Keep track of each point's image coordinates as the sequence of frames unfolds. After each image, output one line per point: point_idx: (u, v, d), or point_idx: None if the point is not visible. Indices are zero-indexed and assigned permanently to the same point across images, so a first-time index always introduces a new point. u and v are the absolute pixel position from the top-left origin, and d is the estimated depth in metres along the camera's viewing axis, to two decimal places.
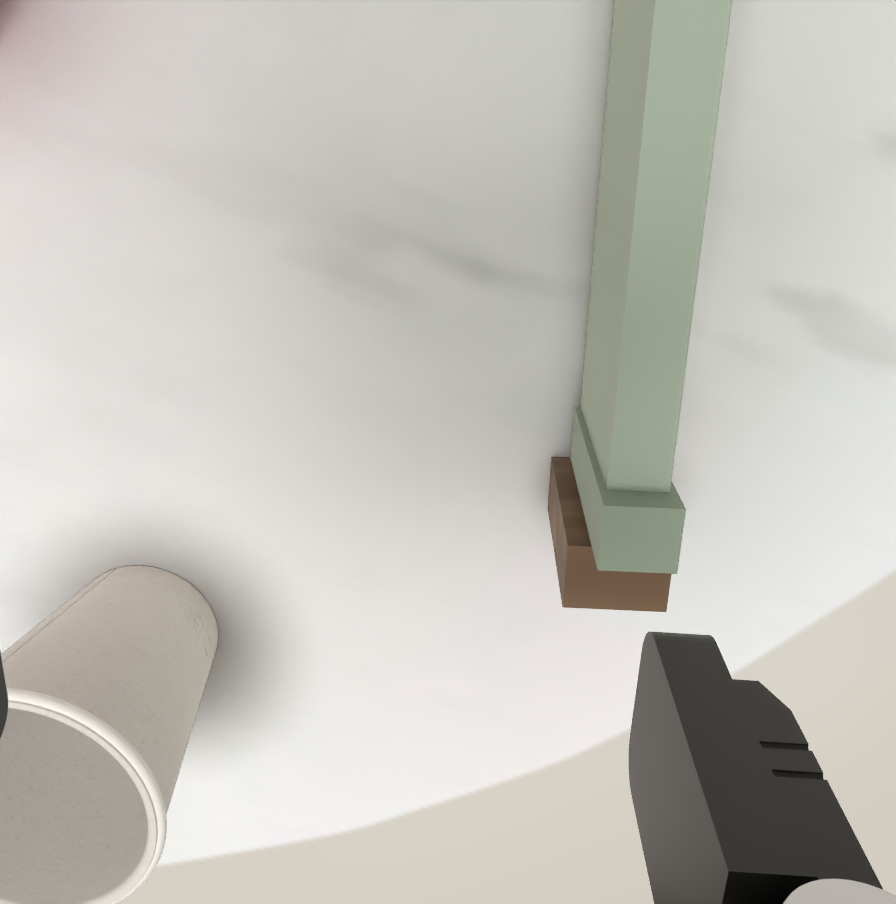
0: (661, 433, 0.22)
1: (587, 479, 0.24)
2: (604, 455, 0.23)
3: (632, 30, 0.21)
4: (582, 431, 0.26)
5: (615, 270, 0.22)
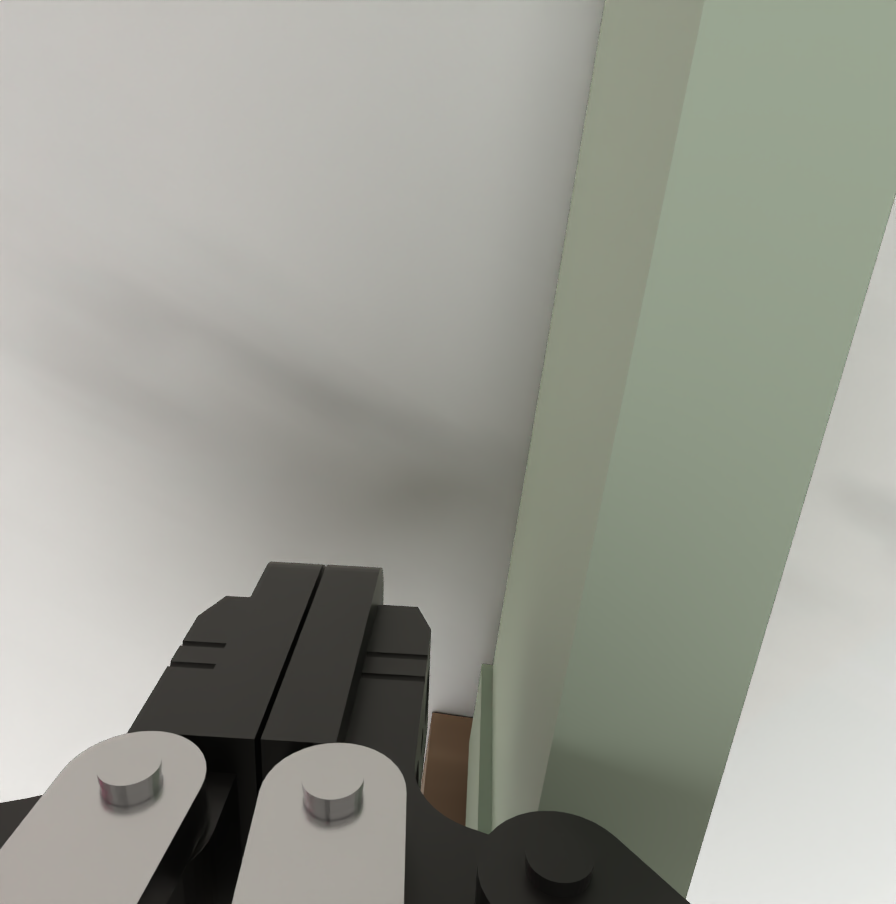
0: None
1: None
2: None
3: None
4: (480, 754, 0.14)
5: (559, 523, 0.09)
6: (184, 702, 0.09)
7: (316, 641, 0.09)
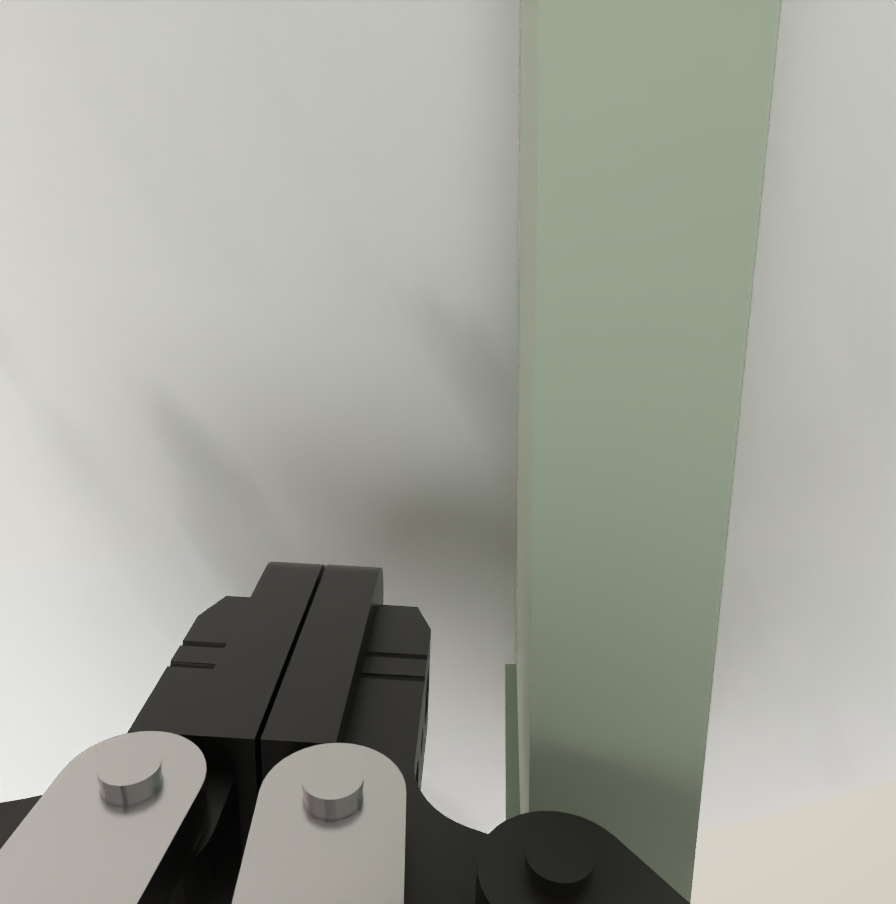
0: None
1: None
2: None
3: None
4: (507, 755, 0.14)
5: (526, 519, 0.09)
6: (185, 703, 0.09)
7: (316, 641, 0.09)
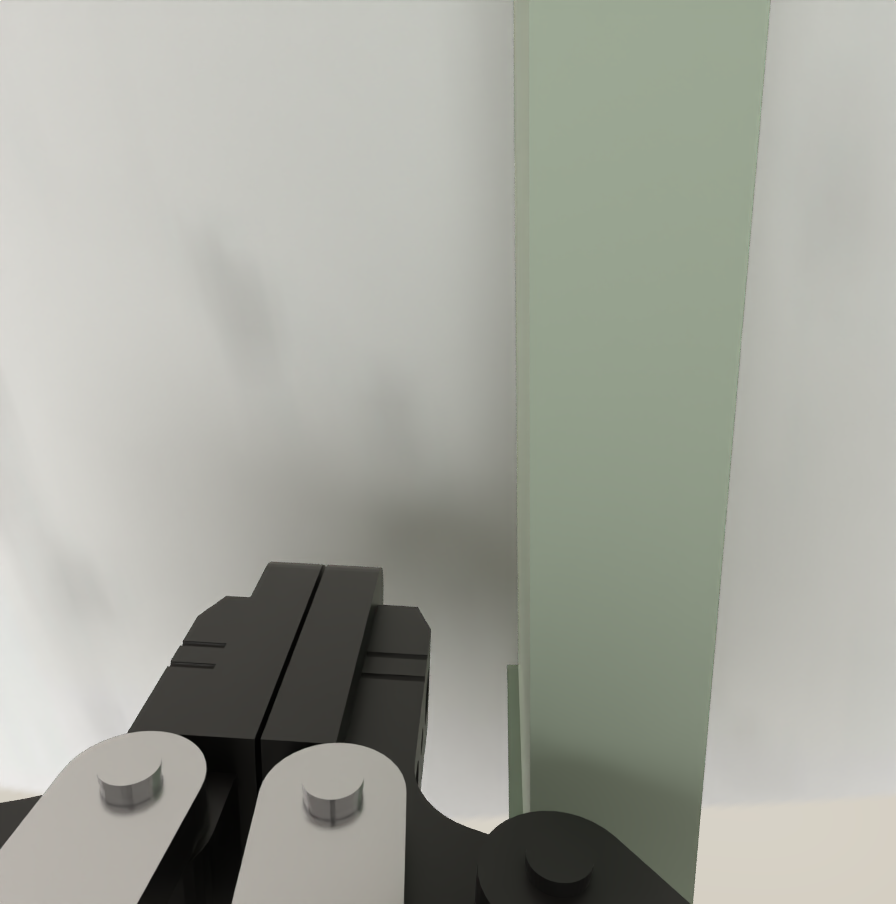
0: None
1: None
2: None
3: None
4: (509, 755, 0.14)
5: (524, 517, 0.09)
6: (185, 703, 0.09)
7: (316, 641, 0.09)
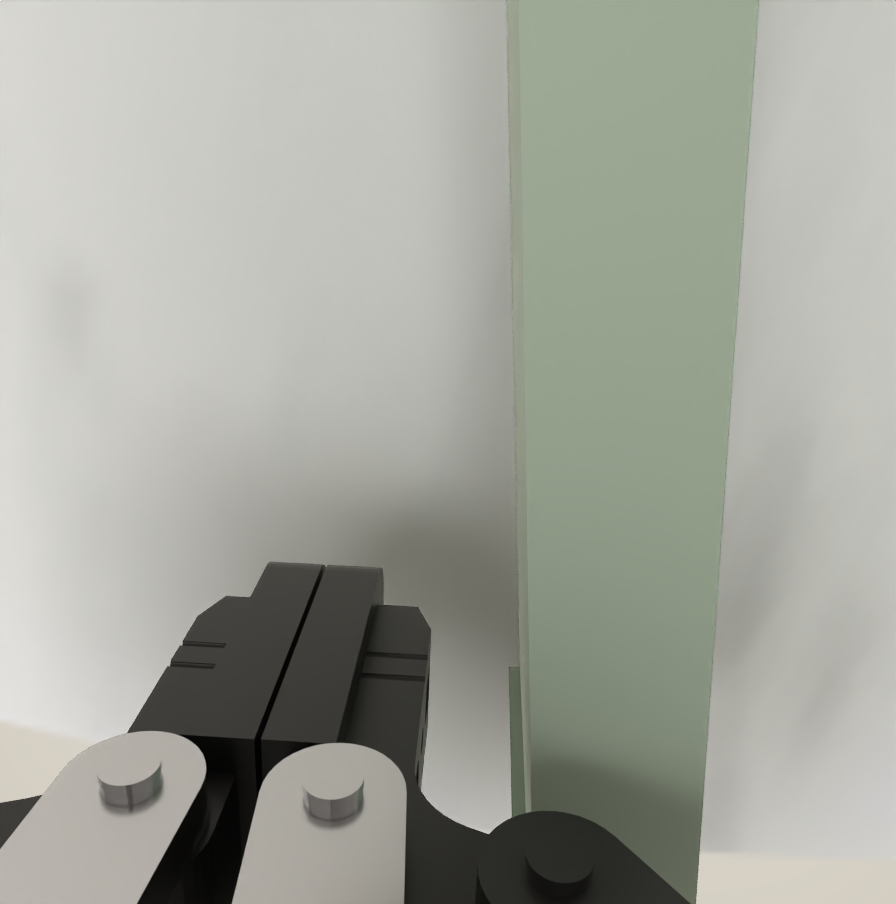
0: None
1: None
2: None
3: None
4: (511, 756, 0.14)
5: (522, 516, 0.09)
6: (184, 702, 0.09)
7: (316, 641, 0.09)
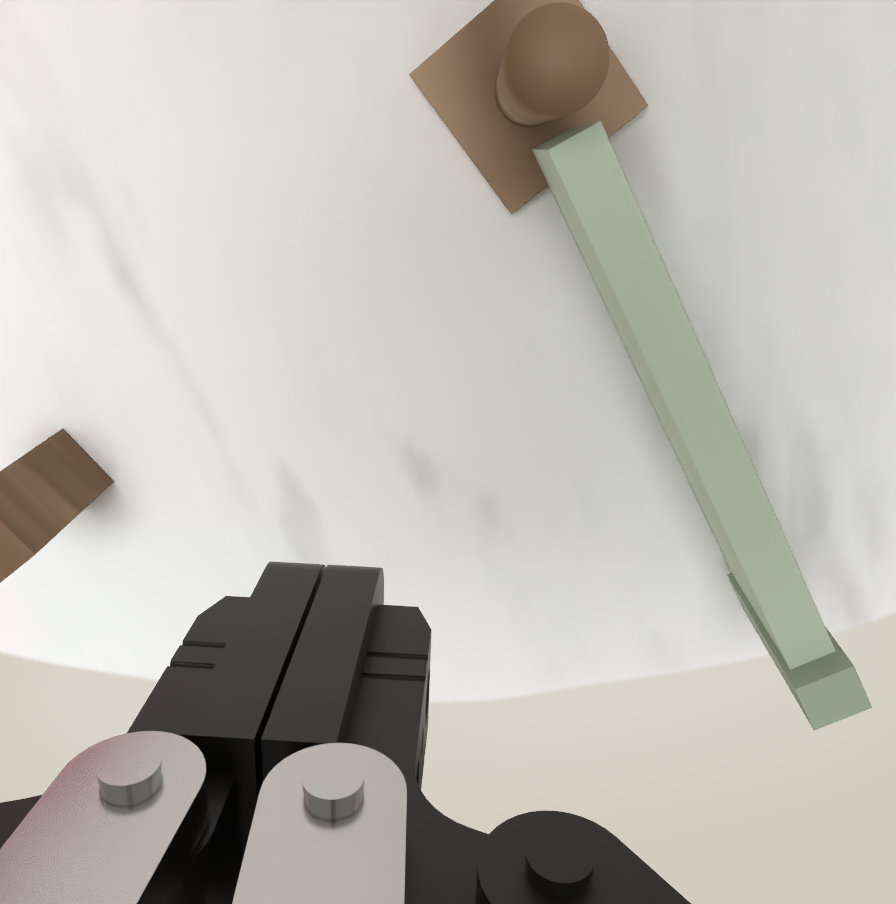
0: (808, 618, 0.28)
1: (769, 650, 0.32)
2: (774, 641, 0.30)
3: (643, 369, 0.29)
4: (745, 604, 0.33)
5: (714, 517, 0.30)
6: (184, 702, 0.09)
7: (317, 641, 0.09)
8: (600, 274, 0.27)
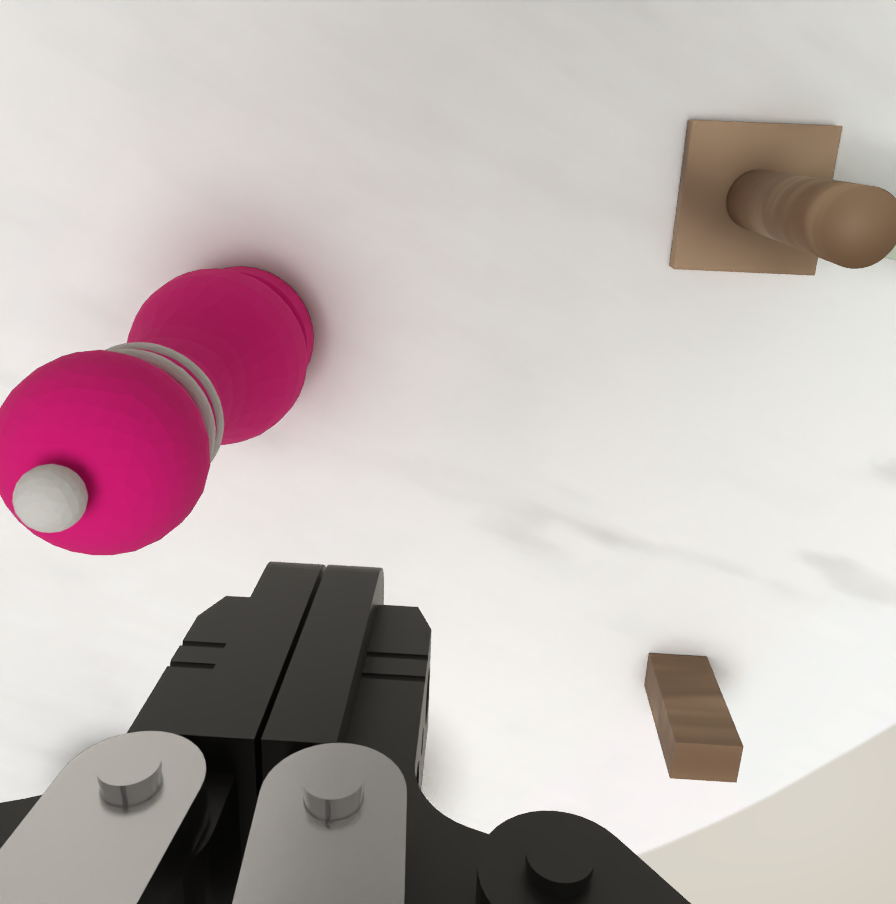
0: None
1: None
2: None
3: None
4: None
5: None
6: (184, 703, 0.09)
7: (316, 641, 0.09)
8: None
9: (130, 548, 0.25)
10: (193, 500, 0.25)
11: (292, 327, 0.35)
